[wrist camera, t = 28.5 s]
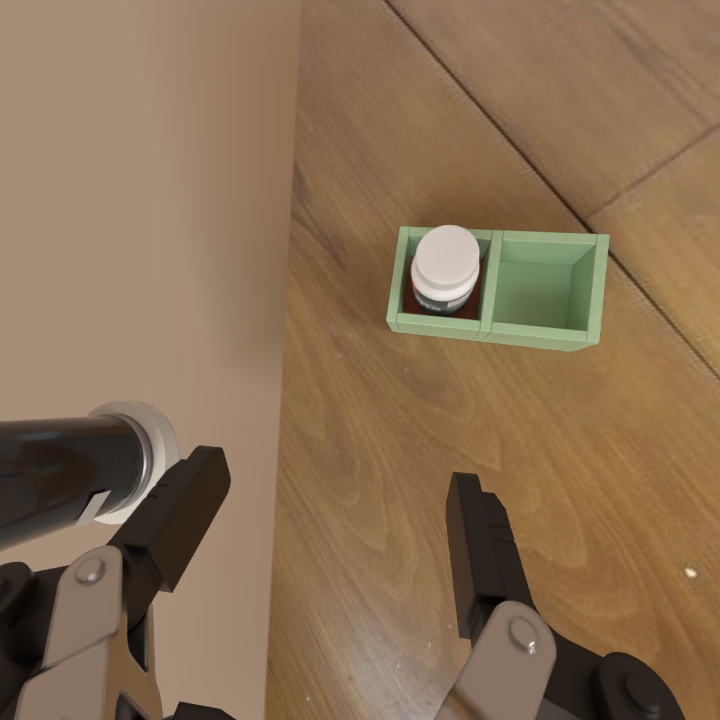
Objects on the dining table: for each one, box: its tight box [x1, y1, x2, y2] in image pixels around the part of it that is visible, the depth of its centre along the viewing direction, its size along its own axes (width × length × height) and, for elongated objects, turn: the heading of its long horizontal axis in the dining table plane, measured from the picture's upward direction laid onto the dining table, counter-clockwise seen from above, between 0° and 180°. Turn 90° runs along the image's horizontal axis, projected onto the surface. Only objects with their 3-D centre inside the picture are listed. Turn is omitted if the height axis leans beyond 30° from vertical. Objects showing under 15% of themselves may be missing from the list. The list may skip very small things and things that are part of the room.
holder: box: [386, 226, 609, 352], centre depth 27 cm, size 15×8×4 cm, turn 81°
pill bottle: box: [411, 225, 479, 317], centre depth 25 cm, size 5×5×8 cm
